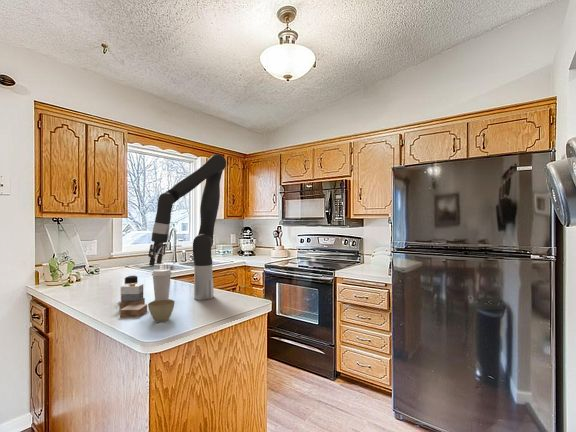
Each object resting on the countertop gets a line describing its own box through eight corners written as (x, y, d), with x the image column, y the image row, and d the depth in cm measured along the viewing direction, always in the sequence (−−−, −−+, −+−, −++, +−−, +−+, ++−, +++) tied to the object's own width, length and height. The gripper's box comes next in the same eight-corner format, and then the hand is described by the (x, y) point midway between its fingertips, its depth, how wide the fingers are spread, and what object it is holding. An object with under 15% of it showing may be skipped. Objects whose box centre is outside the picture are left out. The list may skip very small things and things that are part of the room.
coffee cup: (147, 300, 157) (147, 270, 158) (161, 296, 166) (161, 268, 166) (162, 302, 154) (161, 272, 154) (175, 297, 163) (175, 269, 163)
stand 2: (147, 311, 139) (147, 304, 139) (139, 316, 131) (139, 309, 131) (128, 311, 139) (128, 304, 139) (120, 317, 131) (119, 310, 131)
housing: (143, 298, 149) (143, 282, 149) (138, 301, 144) (138, 284, 144) (126, 299, 149) (126, 282, 149) (121, 301, 144) (121, 284, 144)
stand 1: (144, 304, 151) (144, 297, 151) (137, 308, 143) (137, 302, 143) (127, 304, 150) (127, 298, 150) (119, 309, 142) (119, 302, 142)
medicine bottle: (141, 297, 164) (141, 274, 164) (133, 301, 156) (133, 277, 157) (128, 297, 164) (128, 274, 164) (120, 301, 157) (120, 277, 157)
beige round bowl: (153, 316, 131) (153, 299, 131) (177, 315, 132) (177, 299, 132) (144, 324, 121) (144, 306, 121) (170, 323, 122) (170, 305, 122)
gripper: (162, 233, 148) (156, 267, 147) (173, 233, 162) (168, 264, 161) (147, 231, 148) (141, 265, 147) (159, 230, 162) (153, 261, 161)
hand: (155, 264), depth 154 cm, fingers open, 8 cm apart
